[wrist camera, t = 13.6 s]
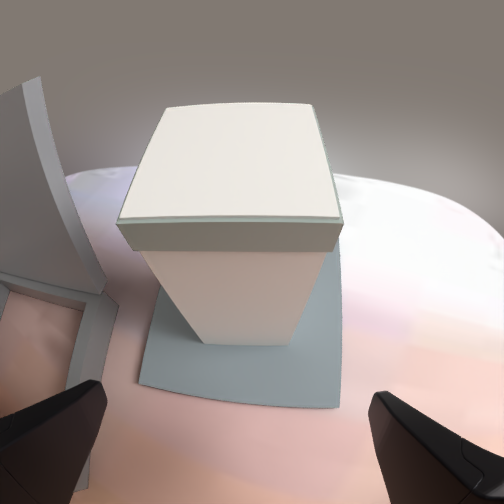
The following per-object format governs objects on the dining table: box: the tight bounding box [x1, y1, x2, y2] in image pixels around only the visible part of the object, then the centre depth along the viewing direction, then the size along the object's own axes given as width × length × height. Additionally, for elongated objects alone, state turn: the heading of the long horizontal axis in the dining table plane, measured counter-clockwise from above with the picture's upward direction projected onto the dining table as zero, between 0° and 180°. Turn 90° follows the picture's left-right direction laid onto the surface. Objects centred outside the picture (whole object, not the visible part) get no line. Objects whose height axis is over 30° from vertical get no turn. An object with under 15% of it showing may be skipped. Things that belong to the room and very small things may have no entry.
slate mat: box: [138, 237, 342, 408], centre depth 18 cm, size 12×12×1 cm
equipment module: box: [116, 103, 344, 346], centre depth 12 cm, size 5×5×12 cm
